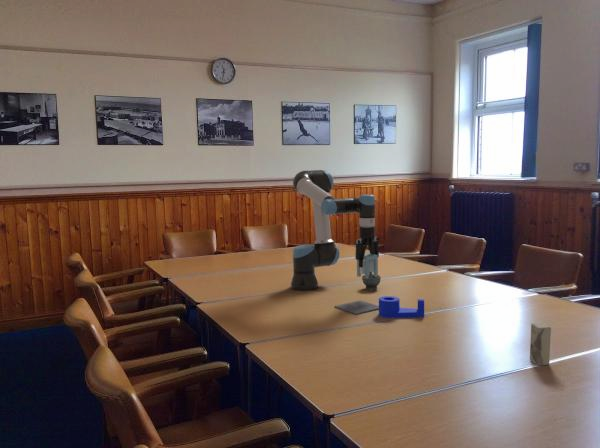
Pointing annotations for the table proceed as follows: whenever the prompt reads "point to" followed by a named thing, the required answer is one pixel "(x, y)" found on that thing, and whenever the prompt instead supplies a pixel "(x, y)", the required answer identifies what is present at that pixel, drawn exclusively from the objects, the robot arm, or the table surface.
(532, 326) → the grey stone block
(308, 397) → the table surface
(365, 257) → the slotted teal block
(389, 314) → the bracket
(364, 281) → the mortar and pestle
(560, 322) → the table surface
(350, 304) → the mat
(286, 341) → the table surface
